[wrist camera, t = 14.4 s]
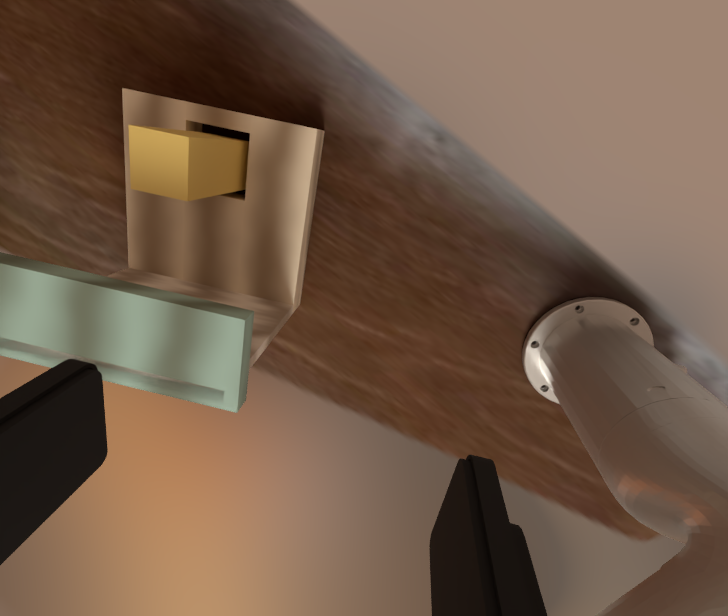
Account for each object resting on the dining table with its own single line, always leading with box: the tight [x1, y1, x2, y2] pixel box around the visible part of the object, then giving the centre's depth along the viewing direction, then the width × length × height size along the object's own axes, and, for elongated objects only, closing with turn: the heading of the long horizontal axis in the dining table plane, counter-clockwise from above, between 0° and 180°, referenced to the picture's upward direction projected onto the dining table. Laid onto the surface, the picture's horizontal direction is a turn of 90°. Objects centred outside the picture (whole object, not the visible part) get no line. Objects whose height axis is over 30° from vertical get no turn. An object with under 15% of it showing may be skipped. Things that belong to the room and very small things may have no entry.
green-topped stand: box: [0, 88, 325, 413], centre depth 32 cm, size 20×18×19 cm
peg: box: [129, 125, 249, 201], centre depth 34 cm, size 4×4×12 cm
